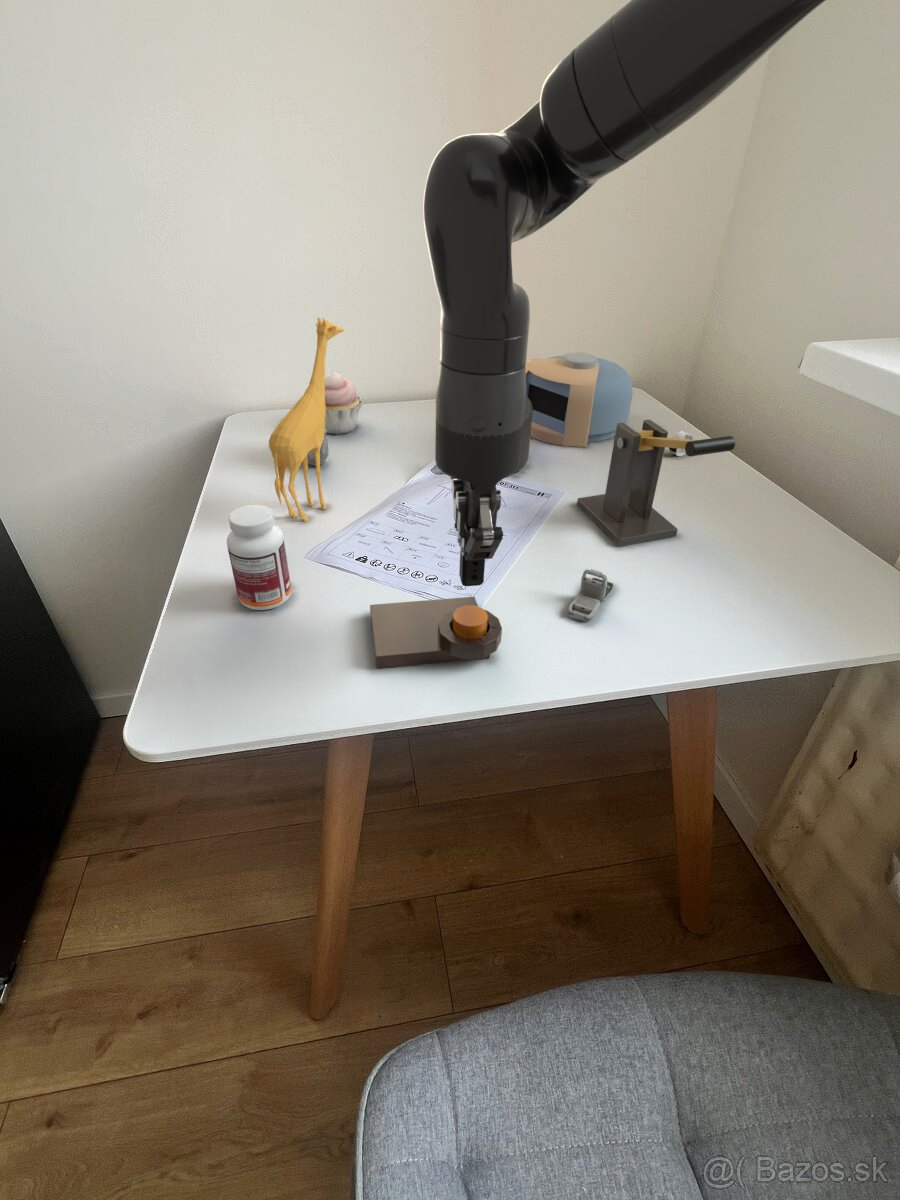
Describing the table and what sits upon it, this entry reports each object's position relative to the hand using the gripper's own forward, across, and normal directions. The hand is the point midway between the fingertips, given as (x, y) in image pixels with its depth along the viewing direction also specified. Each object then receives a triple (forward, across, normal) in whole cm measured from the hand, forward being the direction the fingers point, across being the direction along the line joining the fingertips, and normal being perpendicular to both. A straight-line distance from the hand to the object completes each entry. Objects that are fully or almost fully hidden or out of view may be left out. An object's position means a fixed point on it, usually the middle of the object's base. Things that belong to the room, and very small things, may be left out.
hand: (471, 581), depth 70 cm
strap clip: (+9, +7, -16) cm, 20 cm away
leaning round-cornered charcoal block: (+9, +48, -15) cm, 51 cm away
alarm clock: (+9, +60, -30) cm, 68 cm away
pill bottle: (+9, +13, +22) cm, 27 cm away
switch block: (+9, +2, +3) cm, 10 cm away
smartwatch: (+9, +45, -44) cm, 64 cm away
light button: (+6, 0, 0) cm, 6 cm away
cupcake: (+10, +63, +12) cm, 65 cm away
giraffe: (+10, +34, +16) cm, 39 cm away
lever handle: (-4, +18, -28) cm, 34 cm away
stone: (+10, +49, +16) cm, 52 cm away
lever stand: (+9, +25, -27) cm, 38 cm away
